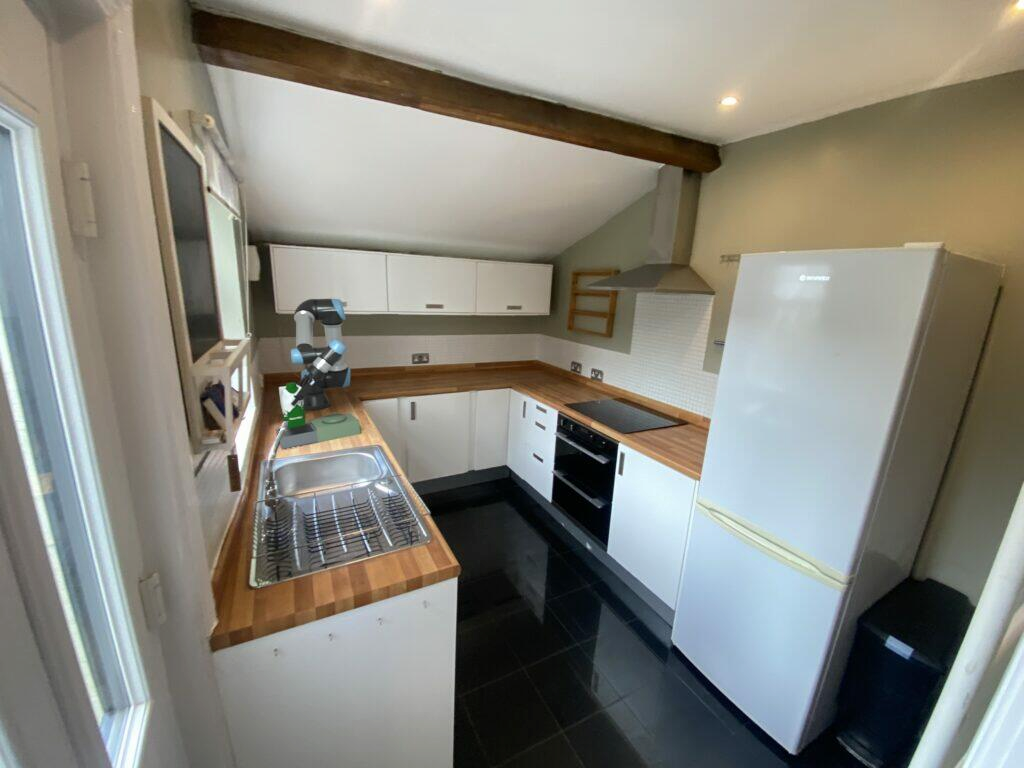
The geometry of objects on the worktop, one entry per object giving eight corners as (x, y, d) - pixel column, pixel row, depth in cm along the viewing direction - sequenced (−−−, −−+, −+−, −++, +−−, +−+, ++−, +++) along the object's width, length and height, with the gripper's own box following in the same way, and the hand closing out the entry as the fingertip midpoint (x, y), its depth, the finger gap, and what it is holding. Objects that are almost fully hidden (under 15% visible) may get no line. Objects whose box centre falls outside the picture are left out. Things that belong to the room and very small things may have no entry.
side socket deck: (351, 425, 208) (349, 409, 206) (360, 433, 197) (358, 417, 195) (277, 440, 189) (274, 422, 187) (282, 450, 177) (279, 431, 175)
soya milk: (287, 429, 178) (280, 386, 174) (282, 424, 185) (276, 382, 180) (308, 425, 184) (302, 382, 179) (302, 420, 191) (297, 379, 186)
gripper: (331, 377, 180) (296, 418, 174) (320, 370, 197) (288, 407, 191) (317, 367, 176) (280, 408, 170) (307, 360, 192) (273, 398, 187)
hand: (284, 407), depth 181 cm, fingers closed on soya milk, 9 cm apart
